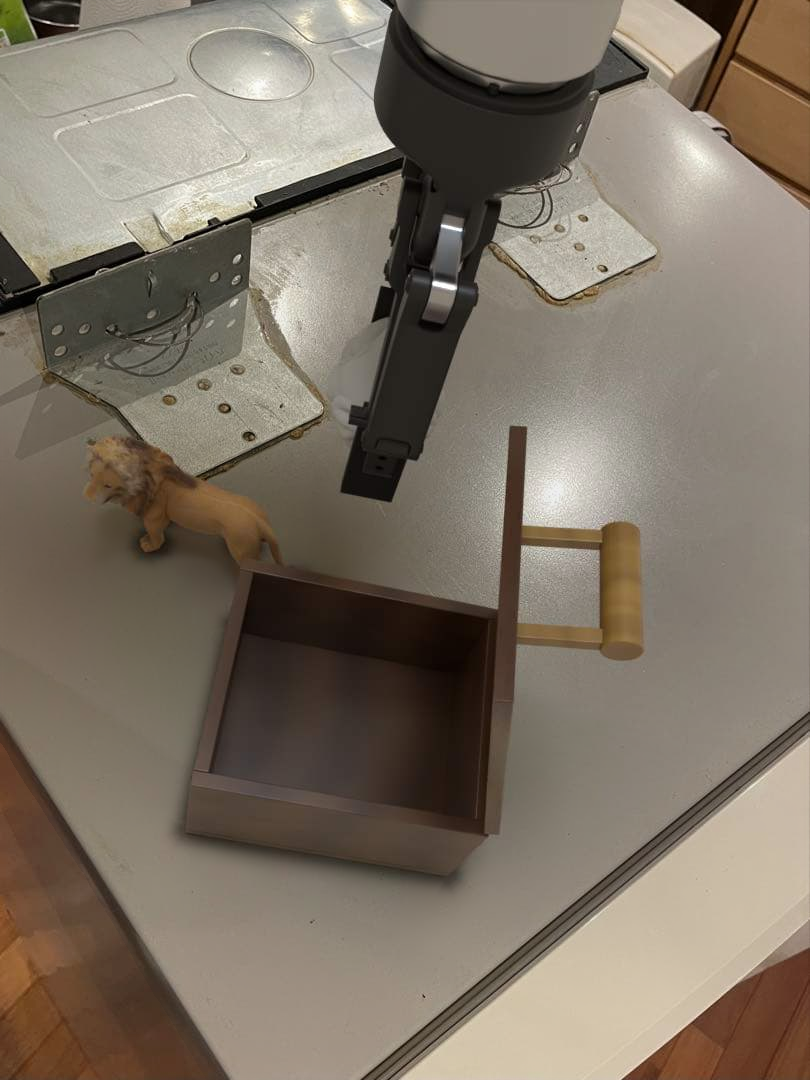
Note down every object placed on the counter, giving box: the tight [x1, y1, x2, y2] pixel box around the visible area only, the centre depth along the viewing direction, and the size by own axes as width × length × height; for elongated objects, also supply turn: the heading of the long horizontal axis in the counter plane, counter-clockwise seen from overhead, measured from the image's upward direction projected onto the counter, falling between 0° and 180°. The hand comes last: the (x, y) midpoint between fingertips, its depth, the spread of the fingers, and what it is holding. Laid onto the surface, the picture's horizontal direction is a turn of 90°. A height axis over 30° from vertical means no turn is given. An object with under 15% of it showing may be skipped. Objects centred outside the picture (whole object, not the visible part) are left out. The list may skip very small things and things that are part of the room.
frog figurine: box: [326, 317, 446, 449], centre depth 51 cm, size 6×7×7 cm
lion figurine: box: [82, 433, 305, 570], centre depth 63 cm, size 15×5×9 cm, turn 79°
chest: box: [184, 558, 498, 877], centre depth 58 cm, size 16×14×9 cm
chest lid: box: [484, 425, 645, 836], centre depth 48 cm, size 16×14×6 cm
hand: (374, 433), depth 53 cm, fingers closed on frog figurine, 7 cm apart
